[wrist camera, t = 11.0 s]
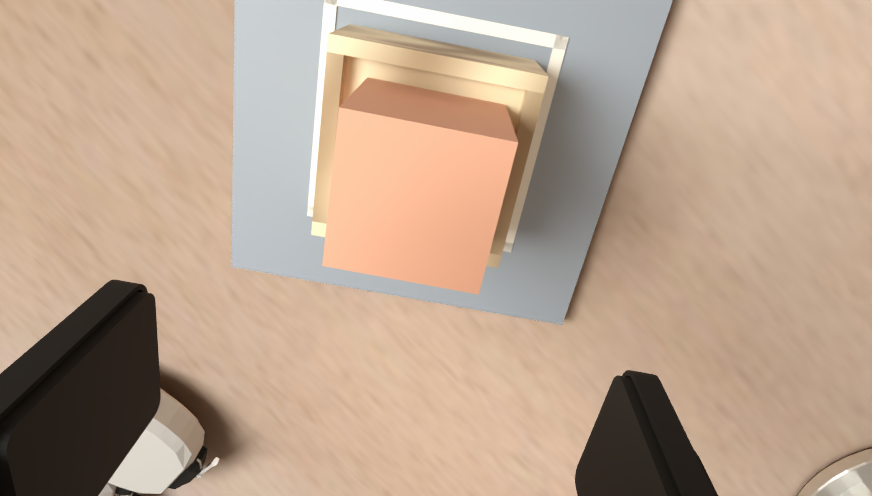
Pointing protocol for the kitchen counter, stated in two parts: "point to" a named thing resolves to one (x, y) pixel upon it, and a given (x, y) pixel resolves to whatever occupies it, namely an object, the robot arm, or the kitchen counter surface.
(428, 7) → the board
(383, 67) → the maple base
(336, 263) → the terracotta cube
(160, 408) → the robot toy
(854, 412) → the kitchen counter surface
